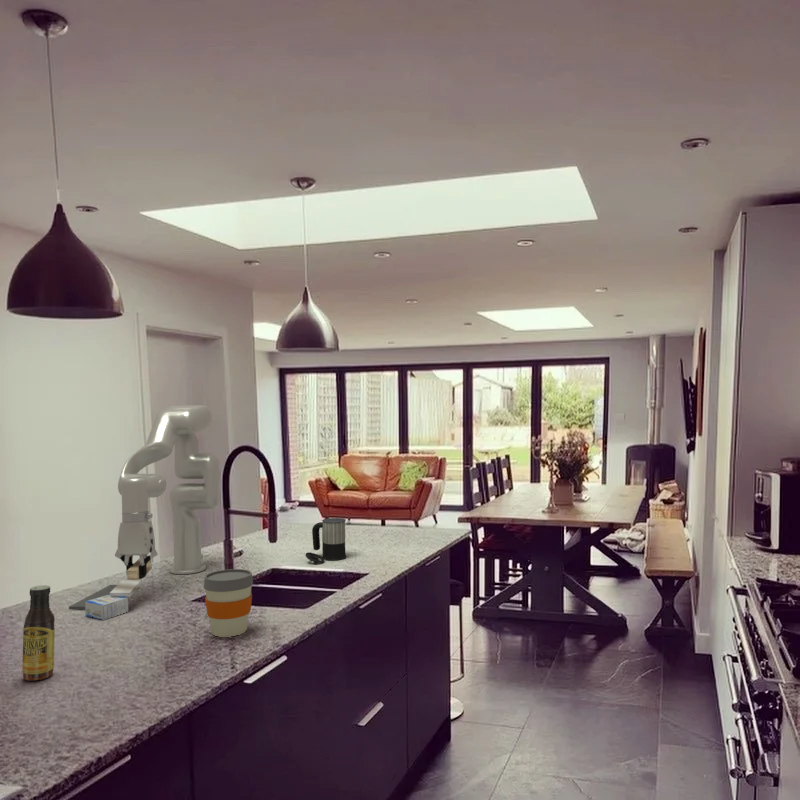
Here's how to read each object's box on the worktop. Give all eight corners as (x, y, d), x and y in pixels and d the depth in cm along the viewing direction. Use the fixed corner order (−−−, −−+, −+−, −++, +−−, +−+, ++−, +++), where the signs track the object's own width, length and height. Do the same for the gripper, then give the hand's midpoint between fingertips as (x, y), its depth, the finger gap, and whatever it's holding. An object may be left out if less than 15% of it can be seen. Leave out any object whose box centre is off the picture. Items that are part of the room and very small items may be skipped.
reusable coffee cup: (212, 624, 183) (210, 569, 183) (258, 623, 183) (257, 568, 183) (198, 640, 171) (197, 581, 171) (248, 639, 171) (247, 580, 171)
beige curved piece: (138, 567, 214) (136, 556, 213) (156, 567, 213) (155, 556, 212) (110, 596, 196) (108, 583, 195) (130, 596, 196) (128, 583, 195)
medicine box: (128, 596, 196) (102, 604, 189) (128, 612, 196) (102, 620, 189) (111, 593, 200) (84, 601, 193) (111, 608, 200) (84, 616, 193)
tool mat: (110, 587, 223) (110, 584, 223) (139, 587, 223) (139, 584, 223) (68, 610, 199) (68, 606, 199) (101, 610, 199) (101, 606, 199)
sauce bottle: (16, 683, 146) (15, 591, 147) (31, 671, 153) (29, 584, 153) (47, 681, 147) (46, 590, 147) (60, 670, 153) (59, 583, 153)
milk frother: (348, 555, 263) (347, 517, 263) (340, 565, 248) (339, 524, 248) (313, 555, 265) (312, 517, 265) (302, 565, 249) (302, 525, 249)
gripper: (166, 515, 209) (167, 574, 209) (115, 515, 211) (117, 574, 211) (155, 519, 202) (157, 580, 202) (103, 519, 203) (104, 580, 203)
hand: (136, 577), depth 206 cm, fingers closed on beige curved piece, 3 cm apart
